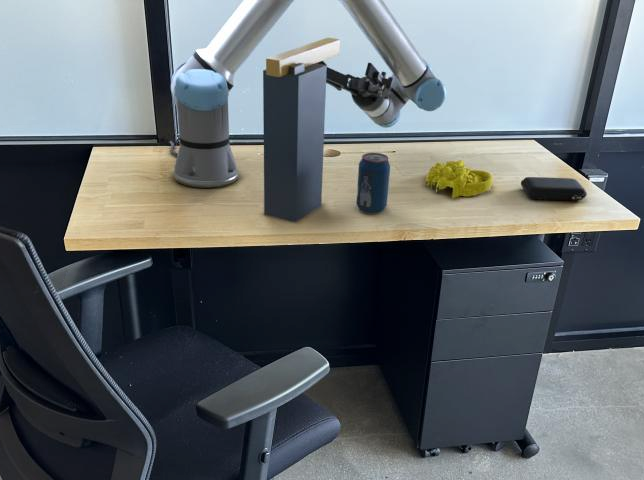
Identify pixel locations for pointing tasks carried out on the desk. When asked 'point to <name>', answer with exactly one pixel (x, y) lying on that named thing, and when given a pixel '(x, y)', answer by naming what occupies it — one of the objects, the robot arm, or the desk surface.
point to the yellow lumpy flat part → (459, 178)
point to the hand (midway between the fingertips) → (340, 64)
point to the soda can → (373, 183)
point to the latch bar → (302, 56)
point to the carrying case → (553, 188)
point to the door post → (294, 141)
